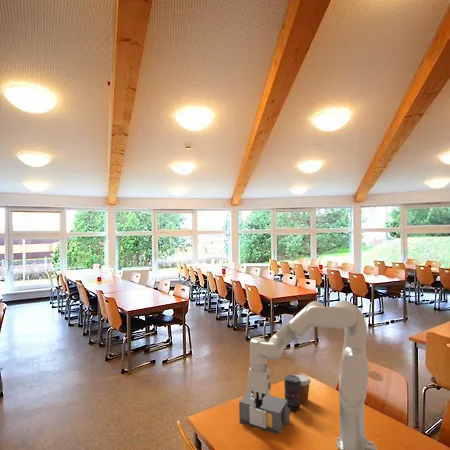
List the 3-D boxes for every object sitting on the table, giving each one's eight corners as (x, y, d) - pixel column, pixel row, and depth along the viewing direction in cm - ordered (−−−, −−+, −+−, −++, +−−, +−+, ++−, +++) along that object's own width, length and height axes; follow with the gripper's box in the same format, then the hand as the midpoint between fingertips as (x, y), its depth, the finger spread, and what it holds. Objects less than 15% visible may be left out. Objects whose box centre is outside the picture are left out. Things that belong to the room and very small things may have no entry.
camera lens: (301, 413, 151) (300, 382, 151) (284, 411, 152) (284, 381, 152) (300, 404, 159) (300, 375, 159) (284, 402, 160) (284, 373, 160)
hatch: (266, 427, 139) (266, 401, 139) (265, 428, 137) (265, 402, 138) (250, 422, 142) (250, 397, 143) (249, 423, 141) (248, 398, 142)
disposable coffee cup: (288, 397, 165) (288, 375, 165) (302, 393, 169) (302, 371, 169) (300, 407, 156) (299, 383, 156) (314, 402, 160) (314, 379, 160)
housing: (291, 419, 146) (290, 399, 146) (282, 436, 134) (281, 413, 134) (249, 407, 156) (249, 388, 156) (238, 422, 145) (238, 401, 145)
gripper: (276, 366, 140) (277, 406, 140) (247, 359, 147) (247, 398, 147) (270, 372, 133) (271, 415, 133) (240, 365, 140) (240, 406, 140)
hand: (258, 406), depth 140 cm, fingers closed
